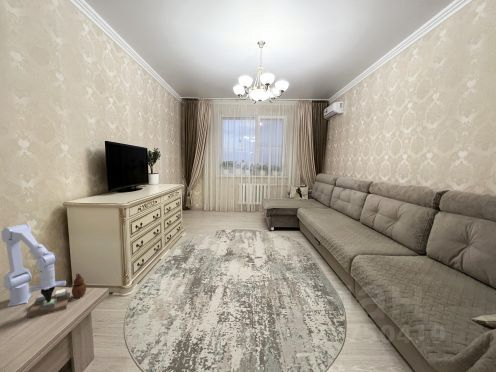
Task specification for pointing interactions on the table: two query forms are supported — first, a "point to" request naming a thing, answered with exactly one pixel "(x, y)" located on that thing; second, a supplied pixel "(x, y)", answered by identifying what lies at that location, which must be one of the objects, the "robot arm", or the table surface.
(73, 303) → the table surface
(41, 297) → the grey button
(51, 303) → the green button
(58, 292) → the white button
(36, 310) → the console
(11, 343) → the table surface
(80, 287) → the wooden figurine
